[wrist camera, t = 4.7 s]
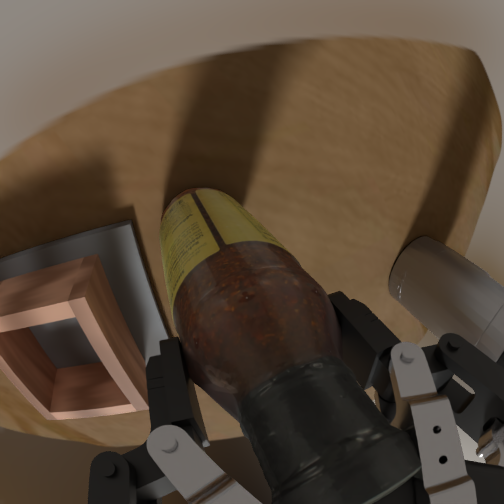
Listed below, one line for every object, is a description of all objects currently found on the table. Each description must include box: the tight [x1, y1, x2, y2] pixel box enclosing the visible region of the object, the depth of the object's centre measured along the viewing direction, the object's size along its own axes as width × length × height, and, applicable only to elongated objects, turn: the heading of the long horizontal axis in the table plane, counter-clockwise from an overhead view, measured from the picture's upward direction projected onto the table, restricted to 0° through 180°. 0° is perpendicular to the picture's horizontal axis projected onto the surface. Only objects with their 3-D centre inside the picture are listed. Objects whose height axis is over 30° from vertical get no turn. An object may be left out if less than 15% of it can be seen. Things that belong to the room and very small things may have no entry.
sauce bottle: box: [159, 188, 422, 504], centre depth 13 cm, size 6×6×20 cm
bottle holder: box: [0, 220, 170, 420], centre depth 18 cm, size 17×15×6 cm
